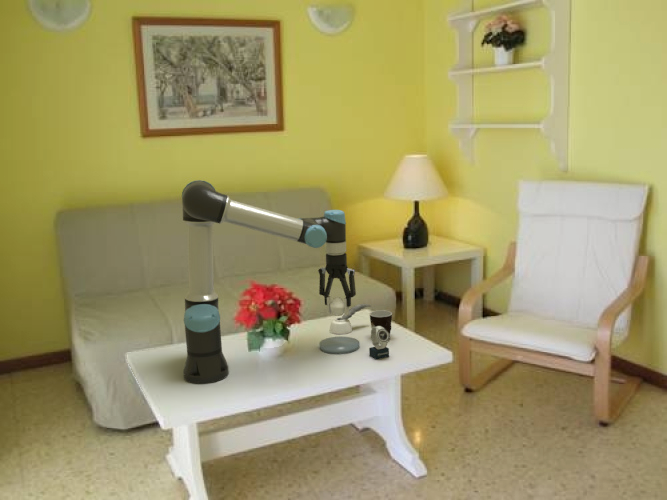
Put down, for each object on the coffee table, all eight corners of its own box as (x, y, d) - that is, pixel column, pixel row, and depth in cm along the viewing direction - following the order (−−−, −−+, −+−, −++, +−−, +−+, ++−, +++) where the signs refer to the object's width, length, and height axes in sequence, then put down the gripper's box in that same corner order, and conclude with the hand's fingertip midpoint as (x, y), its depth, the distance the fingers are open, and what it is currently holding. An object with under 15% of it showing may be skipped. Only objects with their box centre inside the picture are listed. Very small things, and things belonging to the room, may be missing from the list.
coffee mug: (369, 335, 271) (369, 310, 269) (392, 334, 271) (391, 310, 269) (370, 345, 260) (369, 319, 258) (393, 344, 260) (393, 319, 257)
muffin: (348, 316, 255) (348, 297, 253) (332, 318, 253) (332, 299, 251) (343, 311, 260) (342, 293, 259) (327, 313, 259) (327, 295, 257)
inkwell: (325, 329, 280) (325, 305, 278) (366, 322, 287) (365, 299, 285) (334, 335, 272) (333, 311, 270) (376, 328, 279) (375, 304, 276)
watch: (378, 361, 244) (378, 331, 241) (366, 354, 251) (366, 325, 248) (392, 358, 246) (391, 328, 244) (380, 351, 253) (379, 322, 251)
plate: (329, 356, 250) (329, 353, 249) (313, 344, 263) (313, 340, 263) (366, 349, 256) (366, 345, 255) (349, 337, 269) (348, 334, 269)
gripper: (364, 251, 252) (365, 313, 257) (315, 249, 259) (318, 309, 263) (357, 256, 245) (359, 319, 250) (307, 253, 252) (310, 315, 257)
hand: (338, 314), depth 257 cm, fingers closed on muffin, 6 cm apart
